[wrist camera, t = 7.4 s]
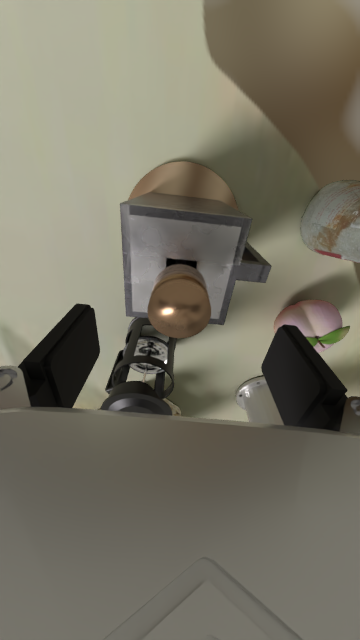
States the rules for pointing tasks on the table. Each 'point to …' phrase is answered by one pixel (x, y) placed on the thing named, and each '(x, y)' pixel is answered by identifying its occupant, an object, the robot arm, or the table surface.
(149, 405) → the french press
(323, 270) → the table surface
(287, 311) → the decorative fruit
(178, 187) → the coaster
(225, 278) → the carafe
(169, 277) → the plunger
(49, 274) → the table surface
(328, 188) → the bottle
